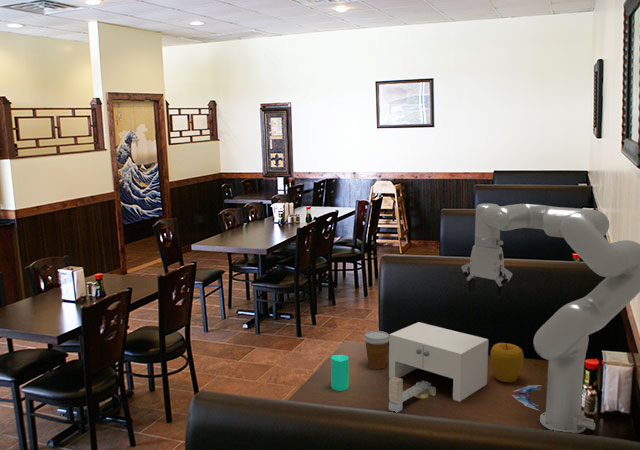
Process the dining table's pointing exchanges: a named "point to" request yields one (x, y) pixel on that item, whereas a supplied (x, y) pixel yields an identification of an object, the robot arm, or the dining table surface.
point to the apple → (506, 361)
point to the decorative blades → (526, 399)
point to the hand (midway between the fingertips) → (485, 294)
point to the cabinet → (440, 356)
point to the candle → (339, 372)
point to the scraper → (405, 392)
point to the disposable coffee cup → (376, 348)
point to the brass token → (422, 394)
